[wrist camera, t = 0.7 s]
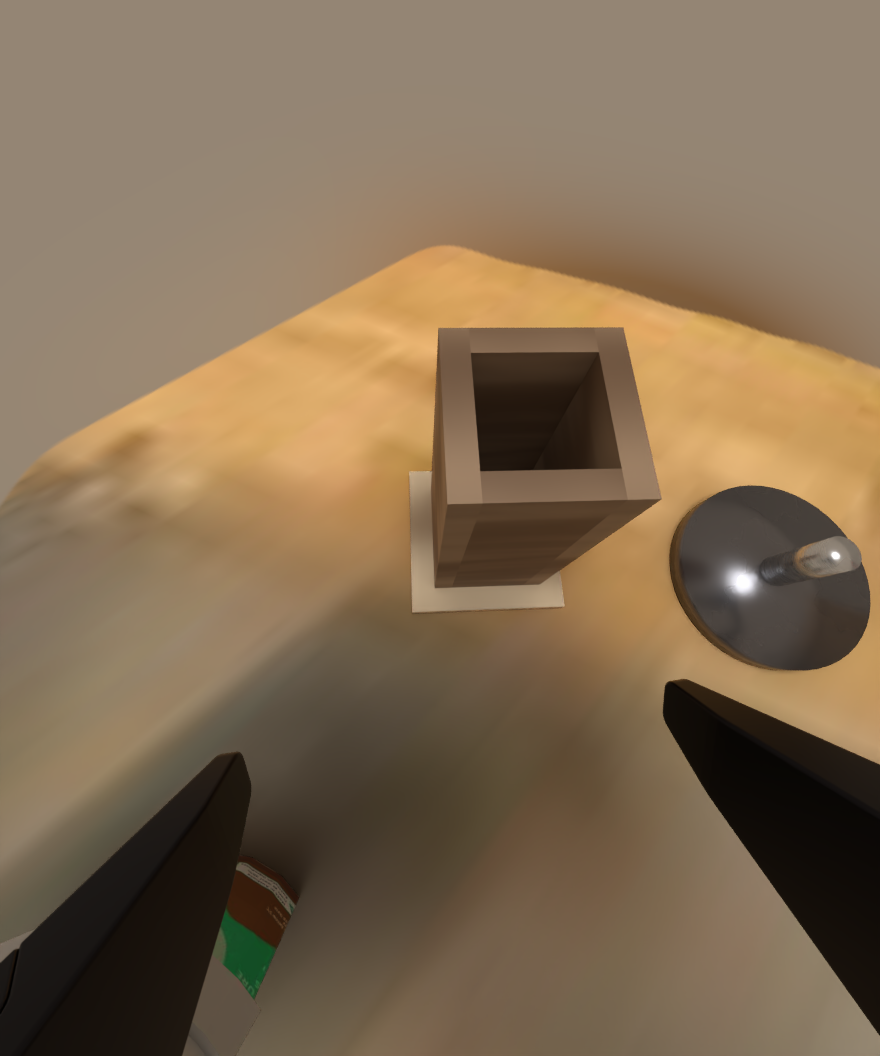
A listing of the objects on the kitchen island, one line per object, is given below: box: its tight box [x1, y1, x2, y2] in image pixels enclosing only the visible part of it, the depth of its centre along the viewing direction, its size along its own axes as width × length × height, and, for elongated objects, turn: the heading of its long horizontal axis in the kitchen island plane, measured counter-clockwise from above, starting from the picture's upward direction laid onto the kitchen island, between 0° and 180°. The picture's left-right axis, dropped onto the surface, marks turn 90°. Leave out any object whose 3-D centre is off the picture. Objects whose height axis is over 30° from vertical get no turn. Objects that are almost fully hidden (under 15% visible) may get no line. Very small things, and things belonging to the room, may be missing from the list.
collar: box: [431, 328, 662, 588], centre depth 17 cm, size 6×6×12 cm
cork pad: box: [409, 471, 565, 613], centre depth 23 cm, size 8×8×1 cm
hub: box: [670, 486, 870, 670], centre depth 21 cm, size 10×10×5 cm
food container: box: [0, 855, 299, 1056], centre depth 13 cm, size 12×6×10 cm, turn 132°
